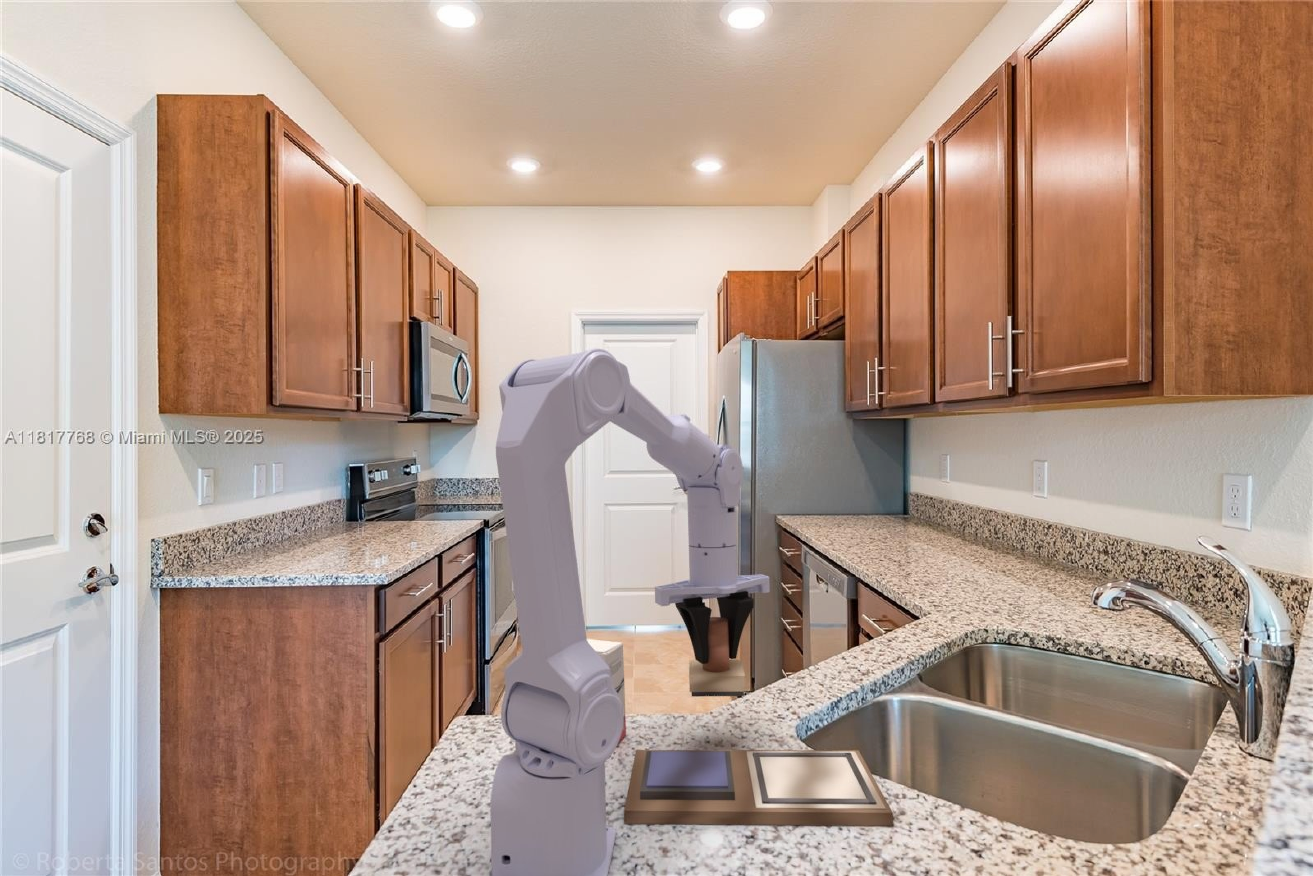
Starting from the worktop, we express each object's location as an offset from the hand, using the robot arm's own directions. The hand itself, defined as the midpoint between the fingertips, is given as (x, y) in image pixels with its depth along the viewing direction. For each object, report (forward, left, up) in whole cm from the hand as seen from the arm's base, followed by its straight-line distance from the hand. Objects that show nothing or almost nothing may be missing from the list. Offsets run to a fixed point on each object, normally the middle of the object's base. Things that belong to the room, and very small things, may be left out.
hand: (715, 659), depth 74 cm
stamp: (0, 0, -3) cm, 3 cm away
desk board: (+3, -9, -10) cm, 14 cm away
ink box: (-16, +2, -10) cm, 19 cm away
